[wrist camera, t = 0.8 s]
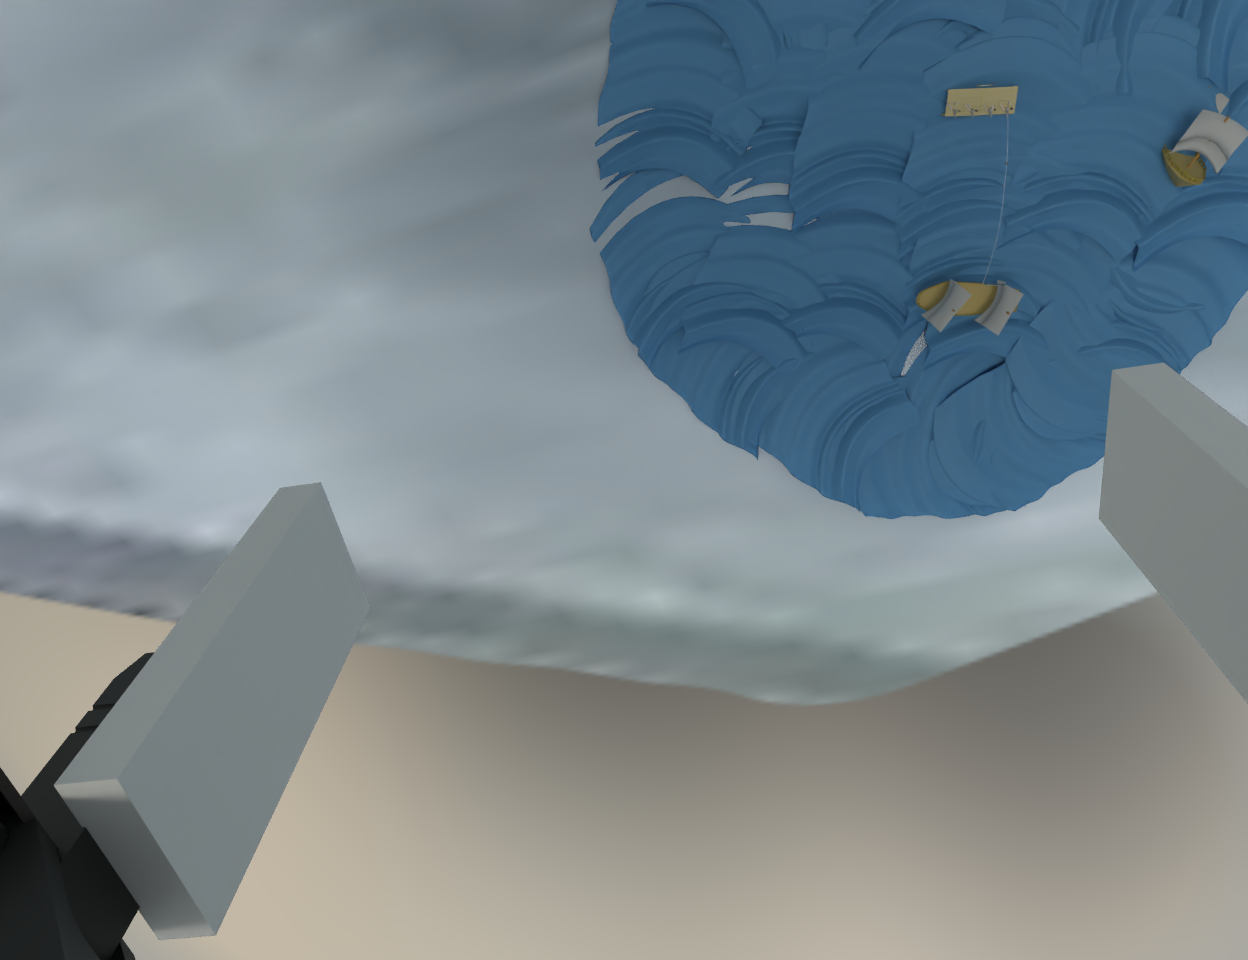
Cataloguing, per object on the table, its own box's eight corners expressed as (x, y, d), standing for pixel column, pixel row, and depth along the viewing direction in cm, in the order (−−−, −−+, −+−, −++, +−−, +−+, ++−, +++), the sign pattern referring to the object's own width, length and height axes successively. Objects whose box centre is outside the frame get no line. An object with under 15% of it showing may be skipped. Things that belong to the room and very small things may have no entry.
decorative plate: (690, 562, 47) (691, 618, 42) (503, -86, 35) (476, -111, 30) (1305, 429, 42) (1385, 475, 37) (1324, -373, 30) (1444, -455, 25)
